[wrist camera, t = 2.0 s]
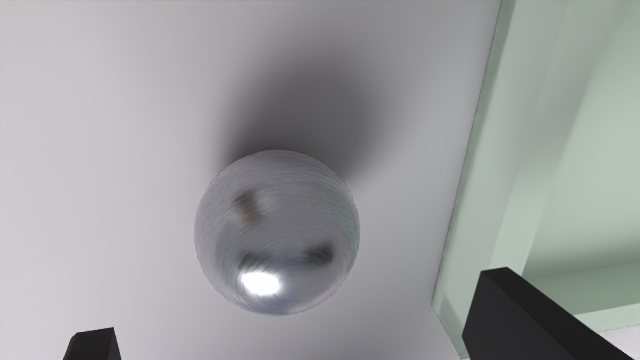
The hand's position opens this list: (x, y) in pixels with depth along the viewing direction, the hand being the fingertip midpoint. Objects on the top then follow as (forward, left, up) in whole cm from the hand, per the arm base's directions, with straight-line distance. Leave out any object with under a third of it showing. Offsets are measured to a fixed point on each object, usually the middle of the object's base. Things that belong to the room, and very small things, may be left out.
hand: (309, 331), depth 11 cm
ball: (0, 0, -5) cm, 5 cm away
